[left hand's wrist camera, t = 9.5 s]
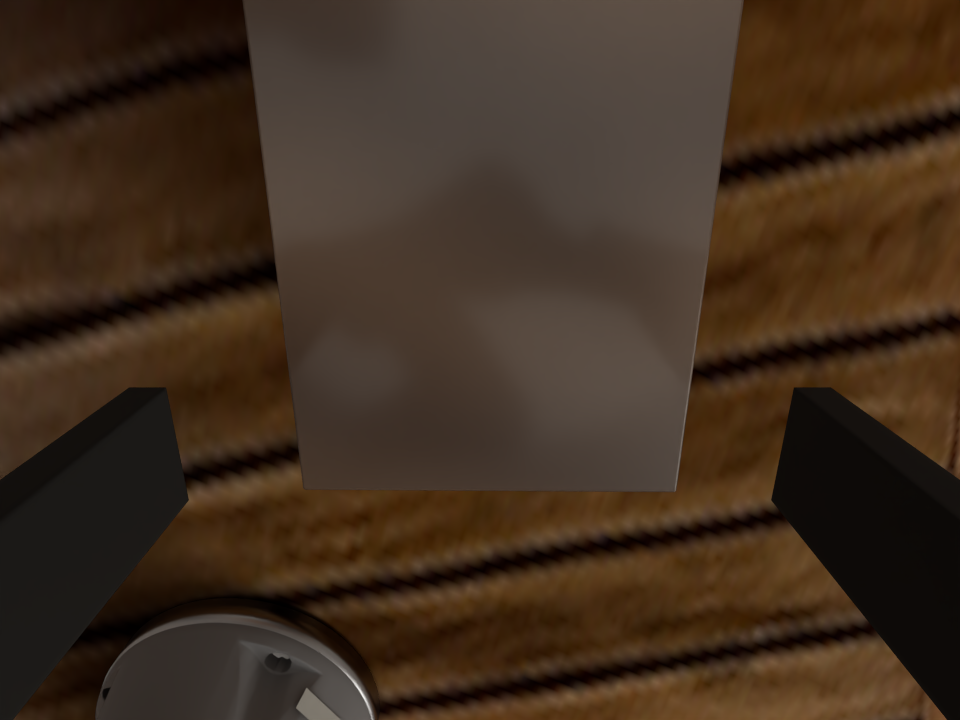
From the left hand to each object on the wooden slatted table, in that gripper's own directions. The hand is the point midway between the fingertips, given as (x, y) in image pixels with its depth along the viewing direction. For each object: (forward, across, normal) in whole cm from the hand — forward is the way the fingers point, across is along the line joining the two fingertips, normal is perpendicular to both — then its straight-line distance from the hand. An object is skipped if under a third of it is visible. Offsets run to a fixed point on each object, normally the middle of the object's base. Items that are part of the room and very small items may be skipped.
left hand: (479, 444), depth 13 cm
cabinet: (+14, 0, -7) cm, 16 cm away
